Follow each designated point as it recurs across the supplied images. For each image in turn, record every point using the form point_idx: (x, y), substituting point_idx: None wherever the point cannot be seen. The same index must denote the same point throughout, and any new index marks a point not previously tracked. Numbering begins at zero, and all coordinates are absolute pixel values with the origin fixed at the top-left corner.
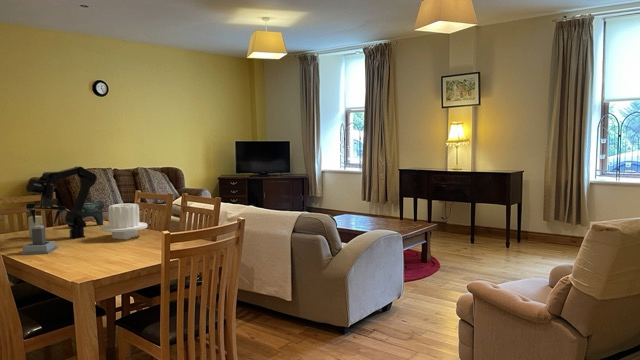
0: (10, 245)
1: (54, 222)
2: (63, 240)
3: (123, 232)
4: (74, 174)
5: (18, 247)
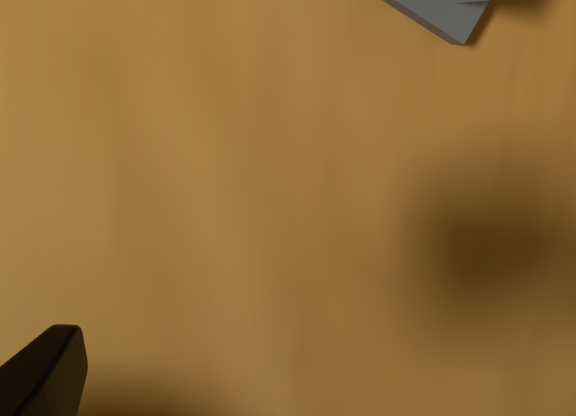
0: (563, 397)
1: (44, 350)
2: None
3: None
4: None
5: (536, 244)
